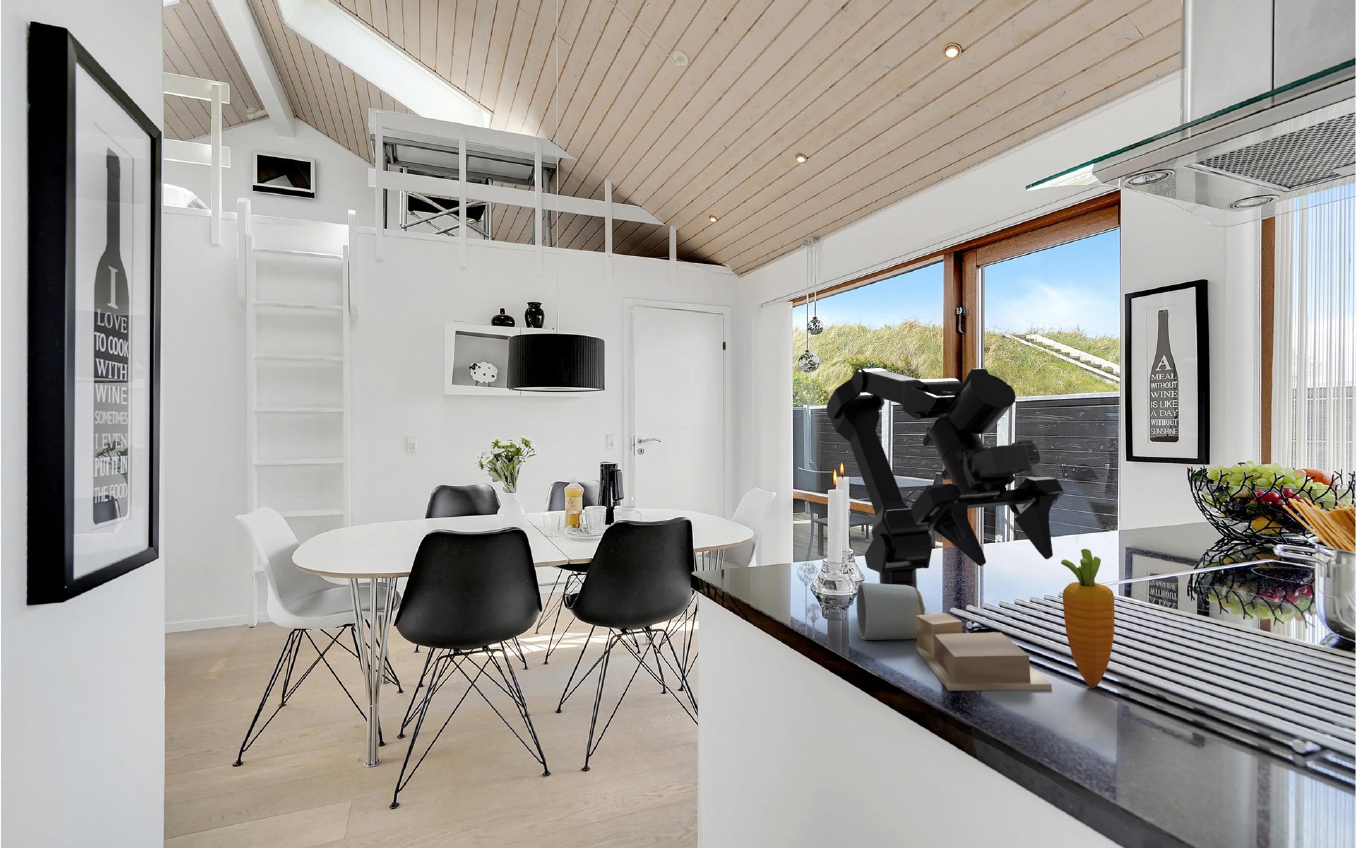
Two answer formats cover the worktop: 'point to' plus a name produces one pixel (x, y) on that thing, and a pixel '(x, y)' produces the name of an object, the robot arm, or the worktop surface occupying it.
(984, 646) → the light brown square block
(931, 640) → the oak cube
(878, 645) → the worktop surface
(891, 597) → the grey cylinder on side
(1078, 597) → the carrot
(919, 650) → the birch board
